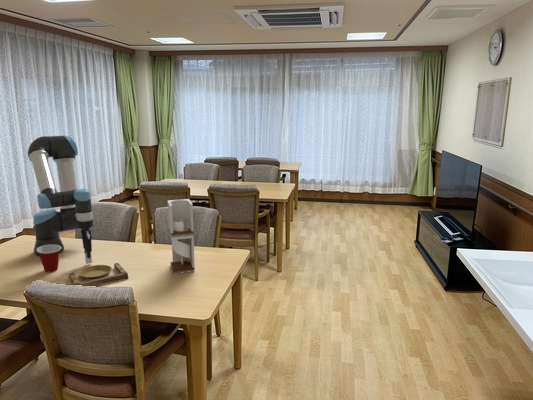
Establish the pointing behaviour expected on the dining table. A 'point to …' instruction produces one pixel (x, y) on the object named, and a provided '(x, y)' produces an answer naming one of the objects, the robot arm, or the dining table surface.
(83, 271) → the plant saucer
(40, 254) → the plastic cup
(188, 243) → the display case
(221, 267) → the dining table surface
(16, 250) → the dining table surface
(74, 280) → the bay
